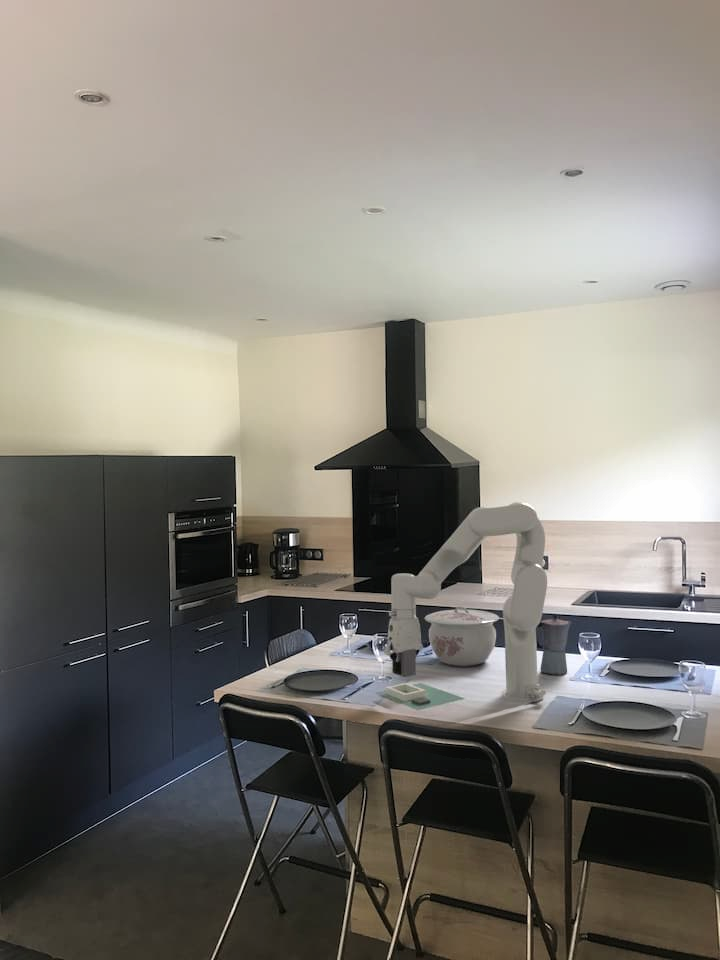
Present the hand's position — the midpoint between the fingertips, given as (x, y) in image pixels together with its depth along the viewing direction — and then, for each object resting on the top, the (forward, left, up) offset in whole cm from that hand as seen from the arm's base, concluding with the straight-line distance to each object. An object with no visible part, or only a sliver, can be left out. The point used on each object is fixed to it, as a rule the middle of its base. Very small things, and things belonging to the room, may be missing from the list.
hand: (404, 672), depth 234 cm
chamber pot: (+24, -44, -9) cm, 51 cm away
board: (-3, -3, -9) cm, 10 cm away
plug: (0, 0, -1) cm, 1 cm away
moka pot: (-7, -58, -9) cm, 59 cm away
